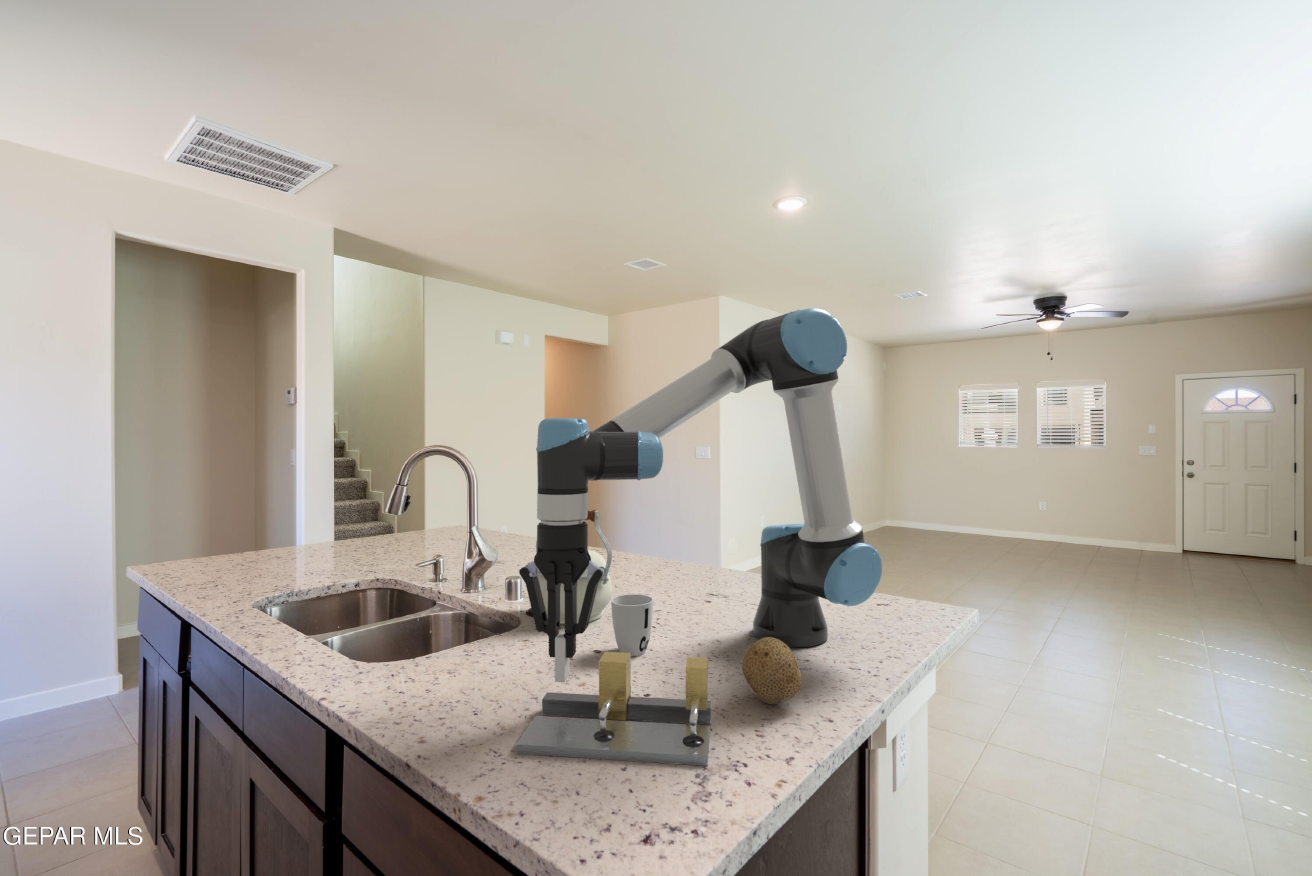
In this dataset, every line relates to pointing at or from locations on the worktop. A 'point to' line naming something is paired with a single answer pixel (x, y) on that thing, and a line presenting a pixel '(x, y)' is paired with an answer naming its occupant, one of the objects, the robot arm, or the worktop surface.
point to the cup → (632, 622)
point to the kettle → (586, 580)
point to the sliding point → (614, 687)
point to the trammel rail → (645, 702)
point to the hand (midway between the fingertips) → (562, 678)
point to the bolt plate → (616, 740)
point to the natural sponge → (771, 670)
